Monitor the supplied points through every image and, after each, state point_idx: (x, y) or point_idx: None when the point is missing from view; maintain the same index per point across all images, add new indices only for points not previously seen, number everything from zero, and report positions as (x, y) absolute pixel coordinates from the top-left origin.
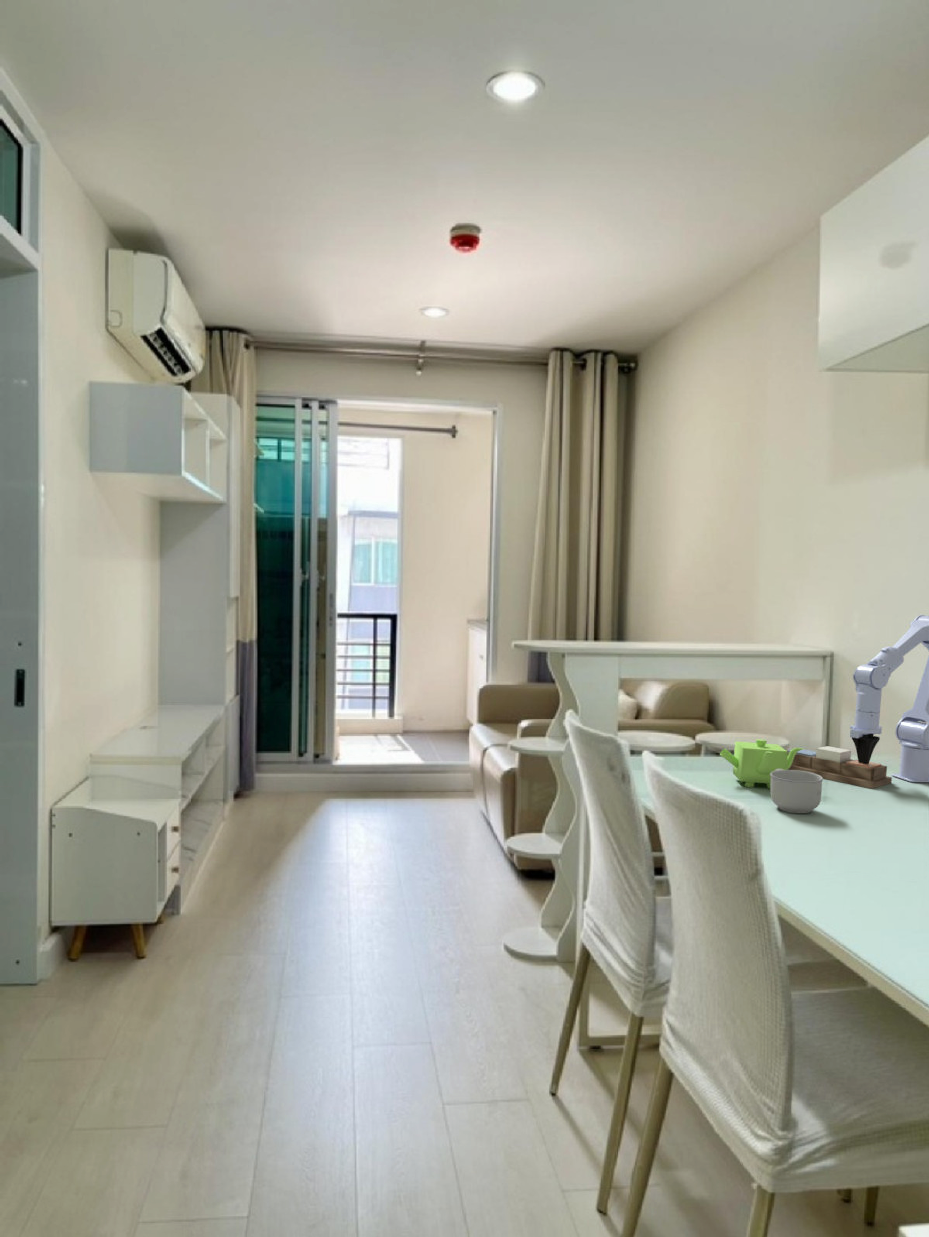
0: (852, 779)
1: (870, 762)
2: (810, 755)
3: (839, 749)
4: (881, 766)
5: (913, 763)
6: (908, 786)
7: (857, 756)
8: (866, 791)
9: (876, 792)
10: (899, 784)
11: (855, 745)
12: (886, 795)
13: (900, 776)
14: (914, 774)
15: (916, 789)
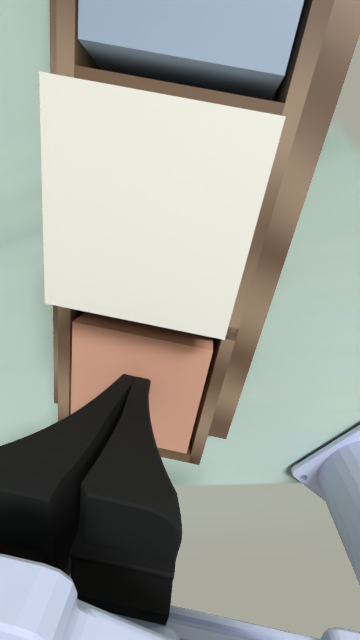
0: (54, 337)
1: (185, 414)
2: (85, 42)
3: (185, 263)
4: (192, 444)
5: (346, 539)
6: (216, 462)
7: (109, 386)
8: (8, 381)
9: (26, 405)
10: (226, 441)
11: (49, 428)
12: (16, 429)
13: (347, 443)
14: (325, 496)
15: (189, 479)
